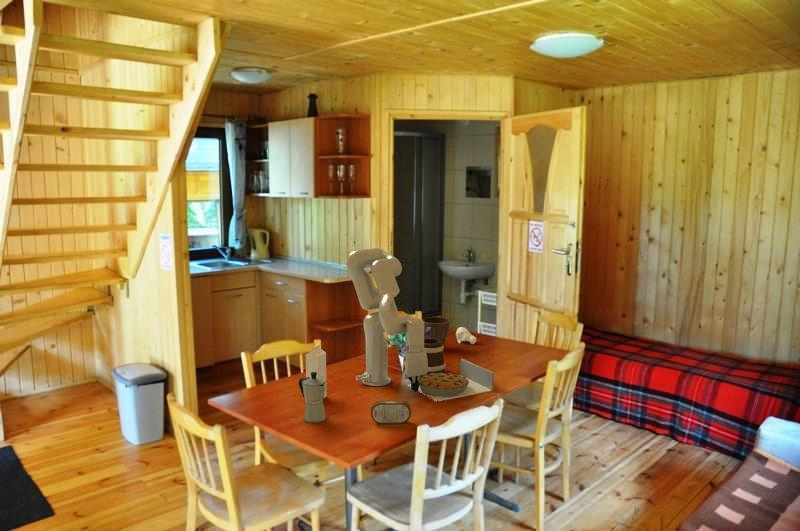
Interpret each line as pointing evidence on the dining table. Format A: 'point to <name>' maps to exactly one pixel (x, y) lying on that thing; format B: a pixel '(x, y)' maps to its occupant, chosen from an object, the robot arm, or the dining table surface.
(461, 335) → the cream rounded lump
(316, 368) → the milk
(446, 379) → the pie
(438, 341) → the mug
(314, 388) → the coffee maker
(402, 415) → the tin
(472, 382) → the grey l-shaped tray
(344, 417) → the dining table surface
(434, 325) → the plant pot
